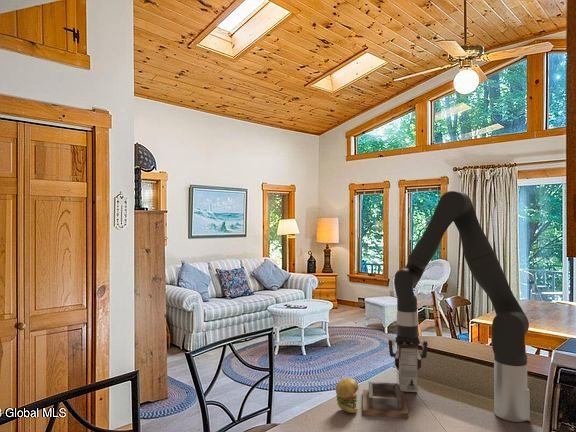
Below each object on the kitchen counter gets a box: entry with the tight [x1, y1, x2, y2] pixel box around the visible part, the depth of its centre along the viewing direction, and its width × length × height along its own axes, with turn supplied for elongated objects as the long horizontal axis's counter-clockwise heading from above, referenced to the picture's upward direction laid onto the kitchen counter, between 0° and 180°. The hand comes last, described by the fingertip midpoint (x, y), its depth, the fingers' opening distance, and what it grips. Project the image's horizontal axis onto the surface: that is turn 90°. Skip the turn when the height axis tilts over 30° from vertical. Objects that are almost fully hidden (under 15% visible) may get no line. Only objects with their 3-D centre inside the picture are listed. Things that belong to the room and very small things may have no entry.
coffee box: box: [397, 344, 419, 393], centre depth 156 cm, size 9×6×16 cm
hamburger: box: [335, 375, 359, 414], centre depth 138 cm, size 8×7×12 cm
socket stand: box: [362, 381, 409, 419], centre depth 143 cm, size 14×16×5 cm
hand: (407, 368), depth 156 cm, fingers closed on coffee box, 6 cm apart
